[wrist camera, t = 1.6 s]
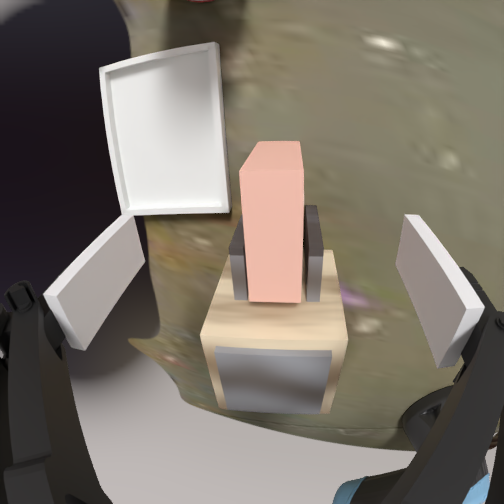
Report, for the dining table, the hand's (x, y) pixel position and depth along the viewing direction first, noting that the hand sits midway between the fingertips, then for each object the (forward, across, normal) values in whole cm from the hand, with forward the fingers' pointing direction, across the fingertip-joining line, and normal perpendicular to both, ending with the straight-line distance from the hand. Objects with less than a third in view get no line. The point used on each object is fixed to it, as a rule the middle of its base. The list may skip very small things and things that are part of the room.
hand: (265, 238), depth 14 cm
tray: (+14, +10, -4) cm, 17 cm away
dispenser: (+13, 0, +11) cm, 17 cm away
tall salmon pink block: (+14, 0, +2) cm, 14 cm away
